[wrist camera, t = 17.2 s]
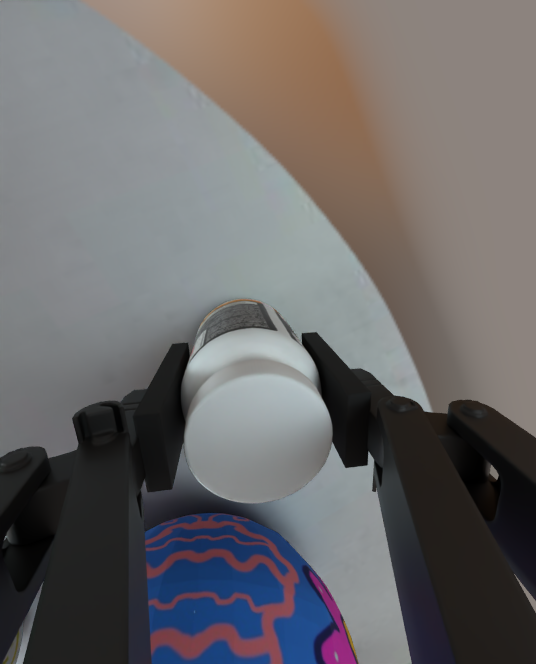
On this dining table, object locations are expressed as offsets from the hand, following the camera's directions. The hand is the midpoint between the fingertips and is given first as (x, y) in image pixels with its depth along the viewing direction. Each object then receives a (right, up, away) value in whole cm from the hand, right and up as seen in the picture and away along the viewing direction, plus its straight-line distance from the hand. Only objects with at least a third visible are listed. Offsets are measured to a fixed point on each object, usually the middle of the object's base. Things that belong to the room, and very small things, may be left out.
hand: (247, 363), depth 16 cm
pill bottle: (0, +1, +3) cm, 4 cm away
